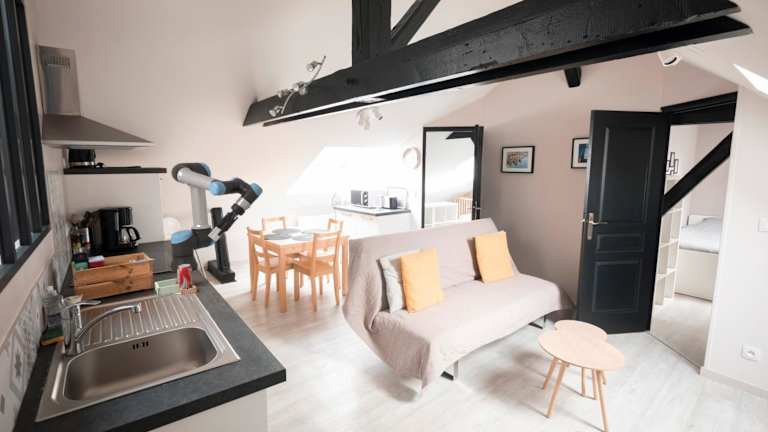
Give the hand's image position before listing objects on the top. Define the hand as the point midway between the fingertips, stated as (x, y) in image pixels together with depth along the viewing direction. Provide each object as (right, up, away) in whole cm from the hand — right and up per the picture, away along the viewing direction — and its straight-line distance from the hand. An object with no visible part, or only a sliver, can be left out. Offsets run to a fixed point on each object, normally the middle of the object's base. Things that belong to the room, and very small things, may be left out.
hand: (211, 238), depth 207 cm
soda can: (-12, -26, -5) cm, 29 cm away
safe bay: (-18, -26, -10) cm, 33 cm away
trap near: (-6, -27, -12) cm, 30 cm away
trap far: (-18, -24, +2) cm, 30 cm away
